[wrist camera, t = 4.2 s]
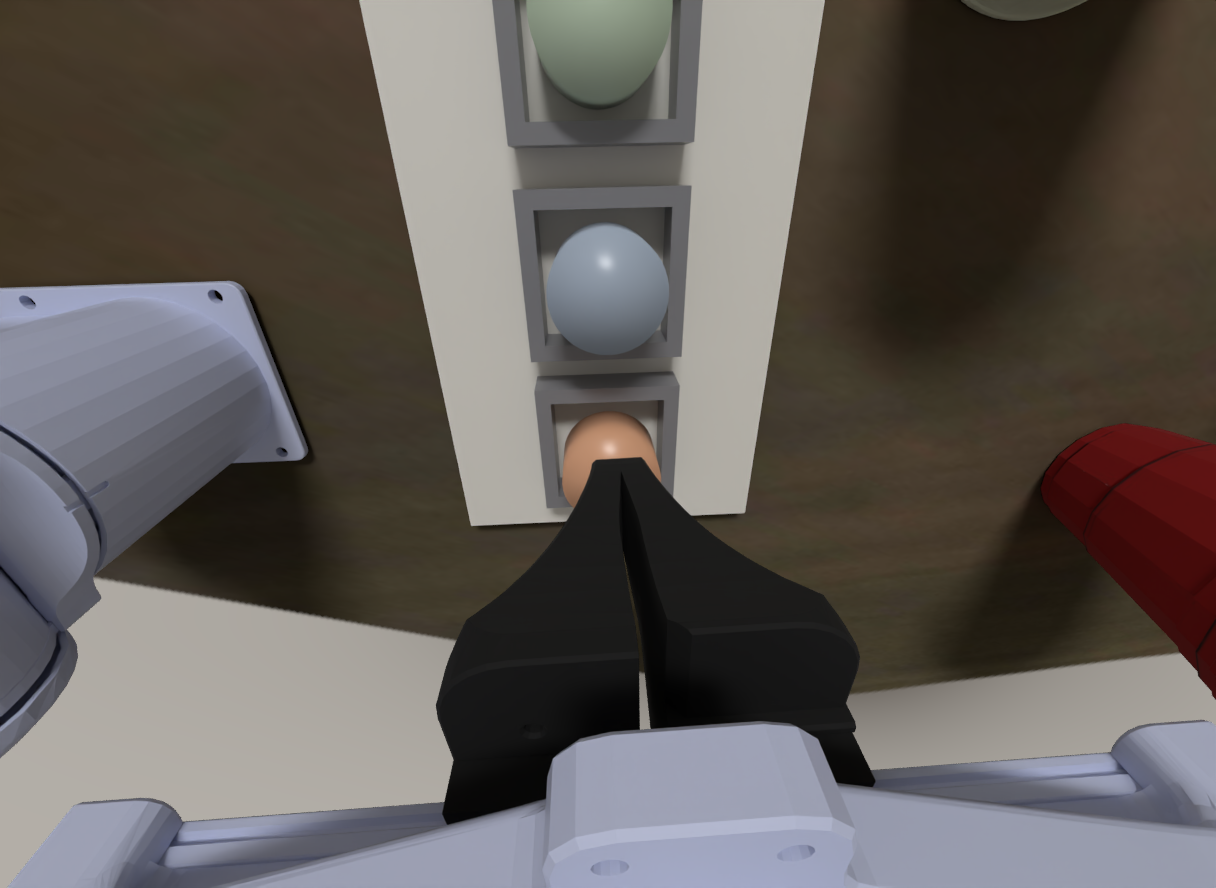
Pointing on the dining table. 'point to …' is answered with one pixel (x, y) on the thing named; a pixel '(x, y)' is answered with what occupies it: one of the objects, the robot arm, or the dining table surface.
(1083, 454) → the plastic cup
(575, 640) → the robot arm
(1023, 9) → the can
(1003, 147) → the dining table surface
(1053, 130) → the dining table surface
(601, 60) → the sage button
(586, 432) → the peach button
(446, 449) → the dining table surface
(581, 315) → the slate button
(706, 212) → the console
